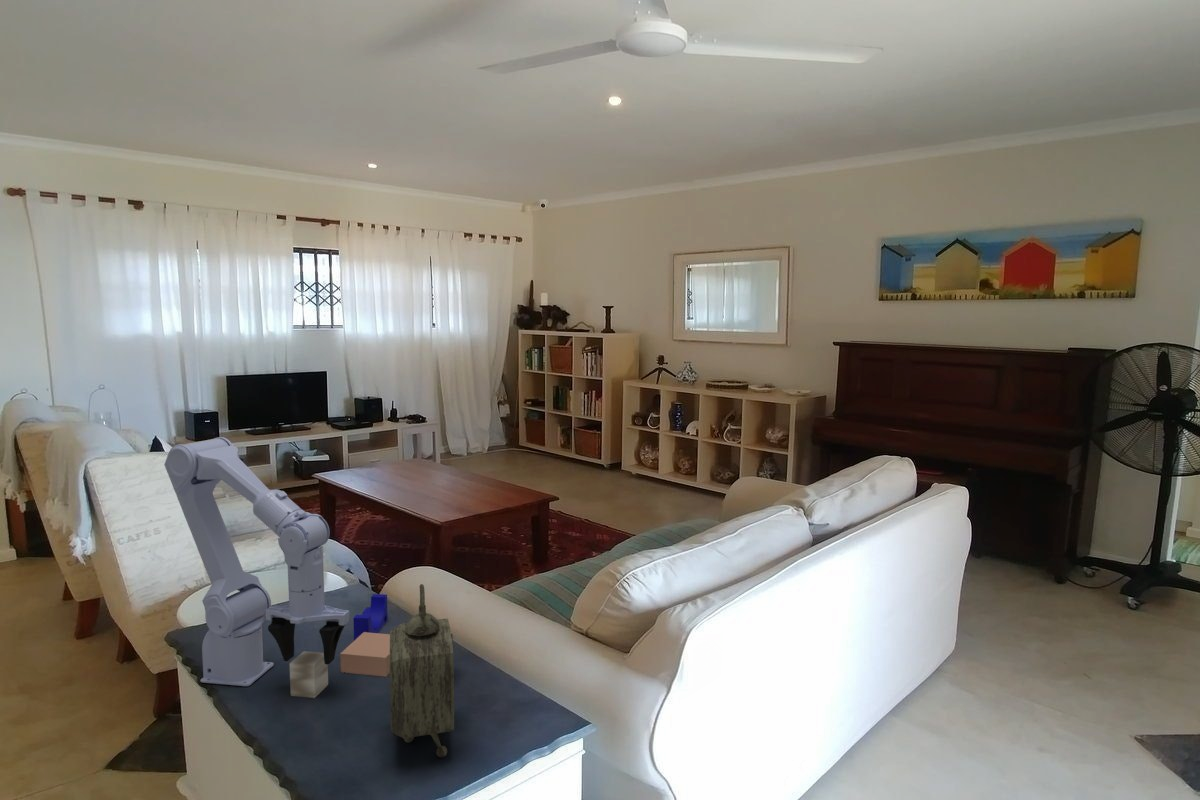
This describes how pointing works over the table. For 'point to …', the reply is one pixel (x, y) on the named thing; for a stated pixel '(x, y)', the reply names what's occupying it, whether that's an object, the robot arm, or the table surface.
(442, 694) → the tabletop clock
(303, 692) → the ivory block
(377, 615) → the blue stepped block
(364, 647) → the terracotta block
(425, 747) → the table surface
